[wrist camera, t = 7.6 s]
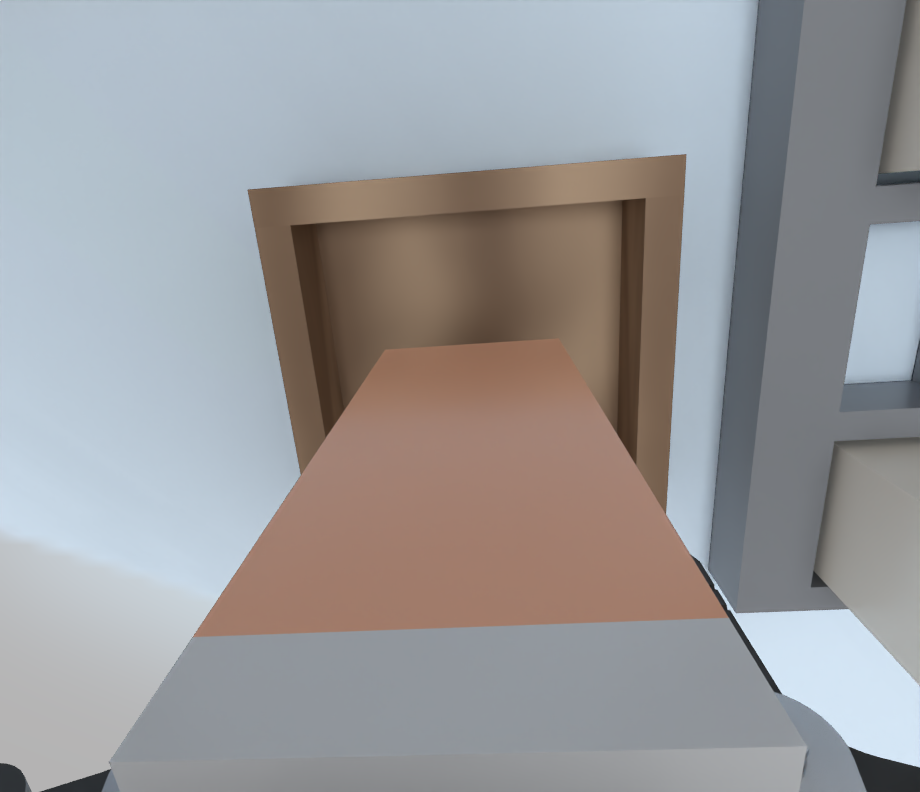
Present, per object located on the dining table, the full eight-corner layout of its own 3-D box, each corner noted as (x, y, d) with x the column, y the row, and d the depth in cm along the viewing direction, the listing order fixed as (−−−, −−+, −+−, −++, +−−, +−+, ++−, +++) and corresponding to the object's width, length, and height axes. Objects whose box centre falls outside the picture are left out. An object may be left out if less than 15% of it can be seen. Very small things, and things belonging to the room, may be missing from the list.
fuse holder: (939, 560, 26) (995, 603, 23) (708, 569, 27) (736, 613, 24) (1102, -90, 18) (1220, -146, 15) (764, -57, 18) (816, -104, 16)
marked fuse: (562, 561, 14) (720, 1238, 5) (411, 568, 15) (287, 1225, 5) (558, 338, 12) (807, 747, 3) (385, 349, 13) (108, 762, 3)
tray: (339, 504, 26) (315, 554, 22) (287, 192, 22) (247, 189, 18) (636, 489, 25) (664, 539, 22) (648, 163, 21) (686, 154, 17)
